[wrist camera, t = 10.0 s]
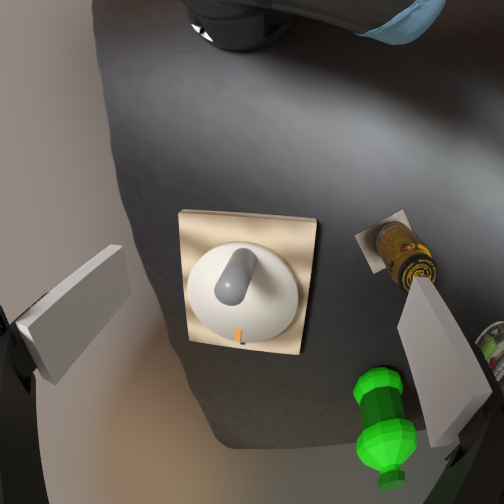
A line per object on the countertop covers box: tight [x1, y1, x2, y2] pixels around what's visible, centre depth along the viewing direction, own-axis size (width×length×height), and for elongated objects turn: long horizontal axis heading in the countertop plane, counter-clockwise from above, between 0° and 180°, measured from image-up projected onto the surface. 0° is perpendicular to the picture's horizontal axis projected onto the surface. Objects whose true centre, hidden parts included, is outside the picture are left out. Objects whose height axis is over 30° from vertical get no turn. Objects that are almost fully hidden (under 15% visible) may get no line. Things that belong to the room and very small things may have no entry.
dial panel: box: [179, 209, 317, 355], centre depth 48 cm, size 24×20×2 cm
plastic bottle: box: [353, 367, 418, 490], centre depth 41 cm, size 10×10×25 cm
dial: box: [187, 241, 298, 343], centre depth 41 cm, size 17×17×11 cm
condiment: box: [355, 209, 437, 294], centre depth 36 cm, size 7×8×12 cm
